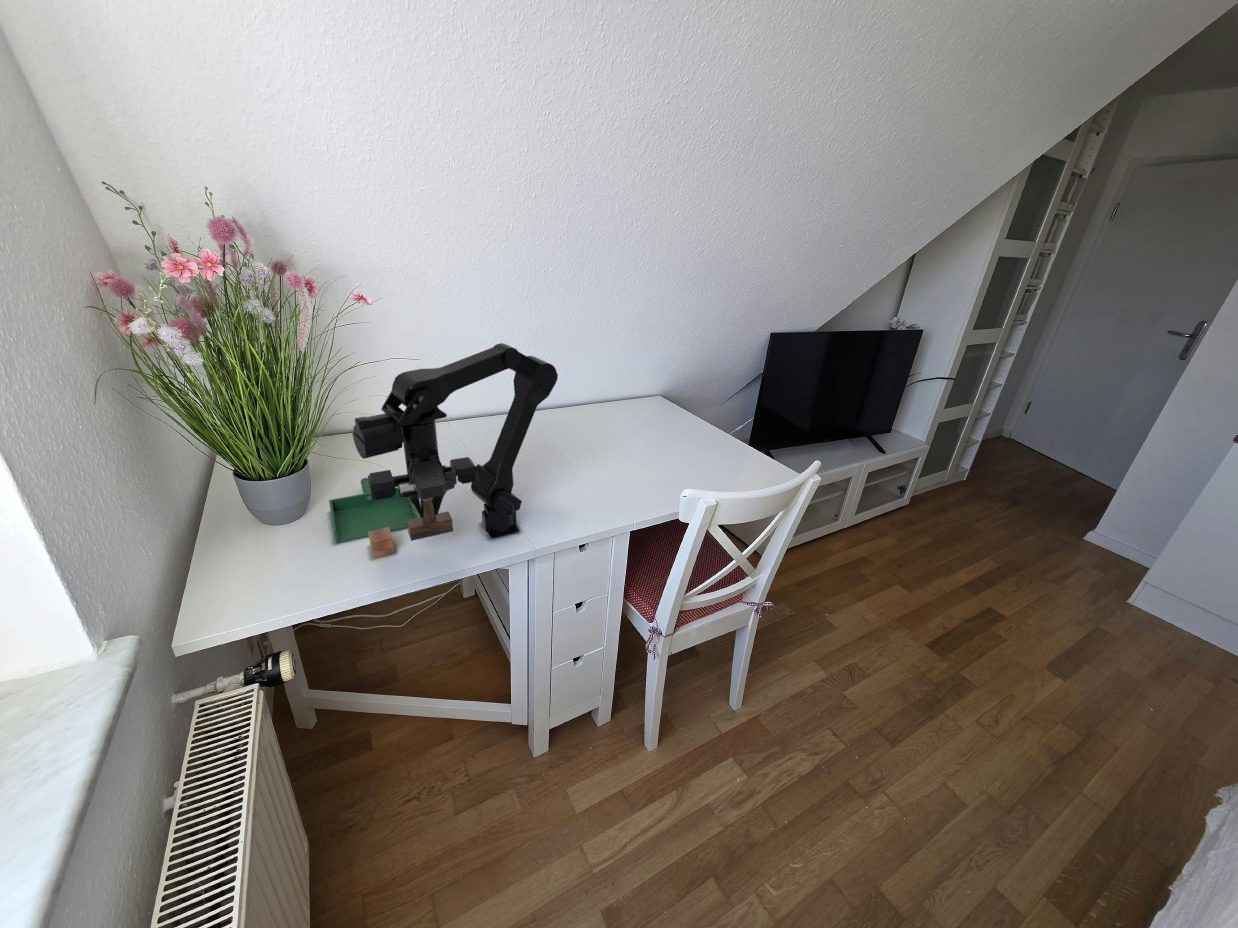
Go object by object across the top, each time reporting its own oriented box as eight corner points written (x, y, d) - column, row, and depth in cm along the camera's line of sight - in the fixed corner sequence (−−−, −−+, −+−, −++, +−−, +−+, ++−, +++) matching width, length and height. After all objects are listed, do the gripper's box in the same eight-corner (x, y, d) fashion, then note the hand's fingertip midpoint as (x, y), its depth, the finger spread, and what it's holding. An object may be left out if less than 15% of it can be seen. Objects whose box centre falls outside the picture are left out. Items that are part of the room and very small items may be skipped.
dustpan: (418, 525, 112) (416, 513, 111) (336, 543, 105) (333, 530, 103) (401, 480, 128) (399, 468, 127) (329, 492, 121) (326, 480, 119)
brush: (449, 523, 104) (446, 489, 101) (453, 531, 102) (450, 497, 98) (408, 532, 100) (403, 498, 97) (411, 541, 98) (406, 506, 94)
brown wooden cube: (391, 542, 106) (389, 526, 104) (395, 553, 103) (392, 537, 101) (370, 547, 104) (367, 531, 103) (373, 558, 102) (370, 542, 100)
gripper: (369, 472, 82) (383, 550, 89) (485, 453, 90) (488, 526, 98) (361, 444, 90) (374, 517, 97) (467, 429, 99) (472, 497, 106)
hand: (428, 515), depth 99 cm, fingers closed on brush, 2 cm apart
